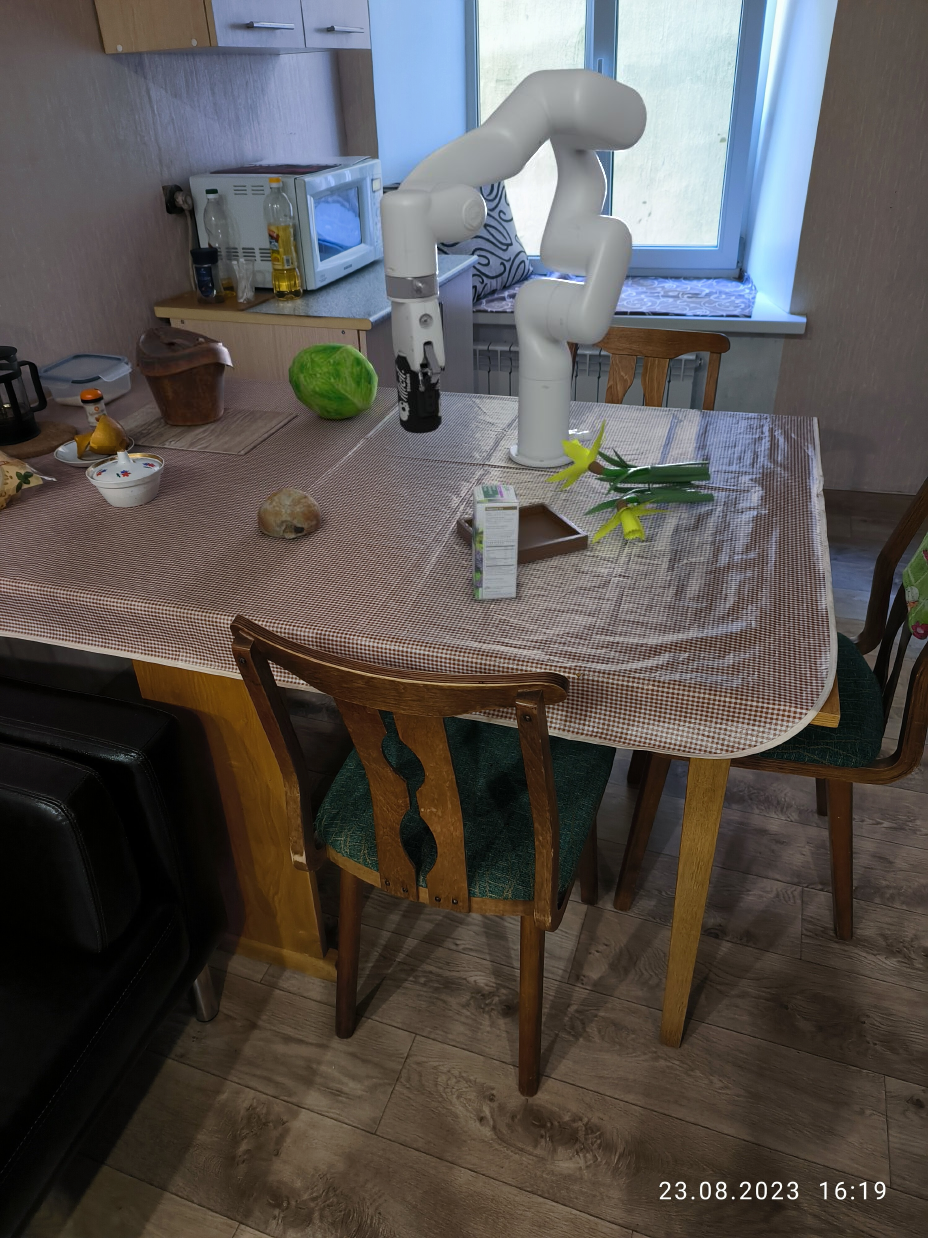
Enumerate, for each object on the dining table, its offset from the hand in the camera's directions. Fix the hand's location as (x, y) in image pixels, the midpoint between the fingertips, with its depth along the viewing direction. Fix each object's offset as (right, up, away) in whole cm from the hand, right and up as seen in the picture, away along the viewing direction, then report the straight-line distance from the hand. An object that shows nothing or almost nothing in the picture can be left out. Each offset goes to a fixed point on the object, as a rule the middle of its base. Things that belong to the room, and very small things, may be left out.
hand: (420, 406), depth 132 cm
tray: (+16, -21, 0) cm, 26 cm away
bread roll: (-21, -18, +6) cm, 28 cm away
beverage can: (0, -3, +2) cm, 3 cm away
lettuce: (-21, +11, +53) cm, 58 cm away
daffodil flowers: (+35, -17, +5) cm, 39 cm away
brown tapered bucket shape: (-51, +11, +53) cm, 75 cm away
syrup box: (+11, -29, -13) cm, 33 cm away
